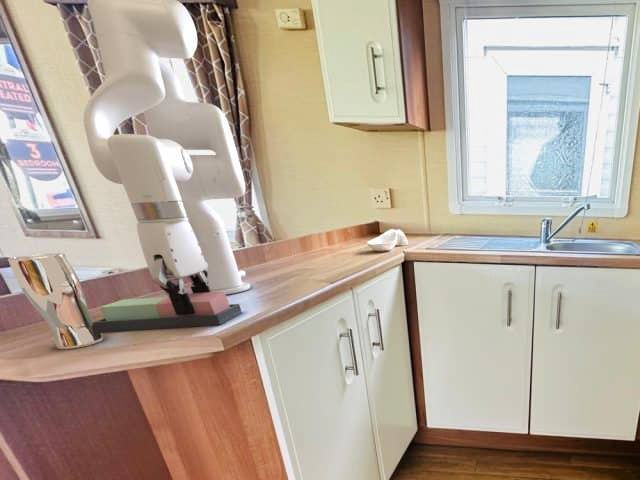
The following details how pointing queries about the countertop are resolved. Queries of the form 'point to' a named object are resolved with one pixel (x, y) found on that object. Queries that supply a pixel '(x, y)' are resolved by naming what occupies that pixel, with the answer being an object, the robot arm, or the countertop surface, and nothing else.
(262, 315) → the countertop surface
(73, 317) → the chrome vase
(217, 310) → the pad rose
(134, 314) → the pad sage
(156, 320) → the frame
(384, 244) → the spoon rest
